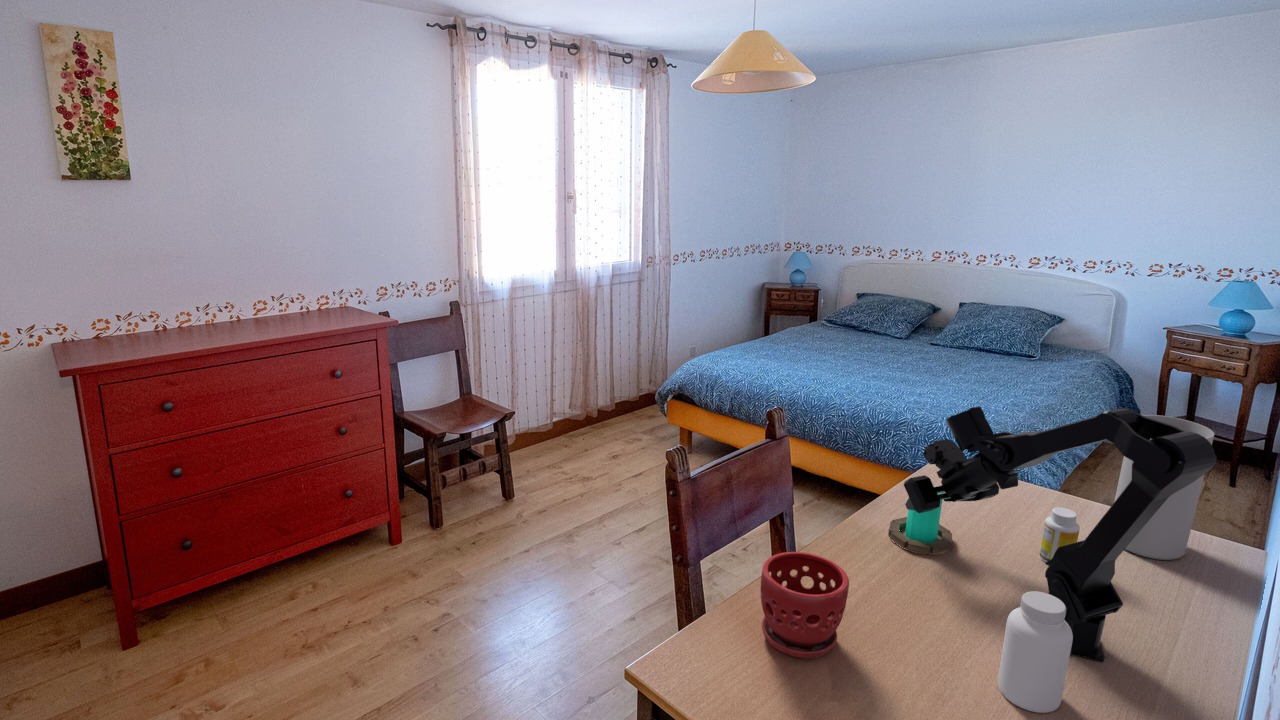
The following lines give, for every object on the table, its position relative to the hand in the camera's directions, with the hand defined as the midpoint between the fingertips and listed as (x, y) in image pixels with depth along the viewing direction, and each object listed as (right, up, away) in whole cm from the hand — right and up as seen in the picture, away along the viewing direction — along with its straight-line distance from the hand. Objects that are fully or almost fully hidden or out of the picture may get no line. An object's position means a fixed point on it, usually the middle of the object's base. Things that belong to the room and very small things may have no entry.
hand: (925, 502), depth 136 cm
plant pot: (-31, -16, -27) cm, 44 cm away
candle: (0, -8, +2) cm, 8 cm away
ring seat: (0, -8, +3) cm, 8 cm away
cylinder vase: (+44, -9, +1) cm, 45 cm away
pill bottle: (-1, -19, -38) cm, 43 cm away
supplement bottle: (+23, -10, -5) cm, 25 cm away
